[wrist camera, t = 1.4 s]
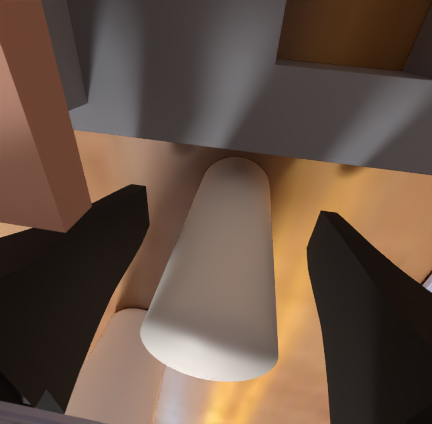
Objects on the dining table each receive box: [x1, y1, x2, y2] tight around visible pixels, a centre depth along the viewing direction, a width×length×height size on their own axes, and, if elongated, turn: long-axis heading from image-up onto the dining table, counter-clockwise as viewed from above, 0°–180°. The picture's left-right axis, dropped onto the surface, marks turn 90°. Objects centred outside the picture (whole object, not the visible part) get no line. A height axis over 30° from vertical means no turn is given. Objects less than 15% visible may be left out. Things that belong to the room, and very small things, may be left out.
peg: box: [140, 157, 278, 382], centre depth 10 cm, size 3×3×8 cm
